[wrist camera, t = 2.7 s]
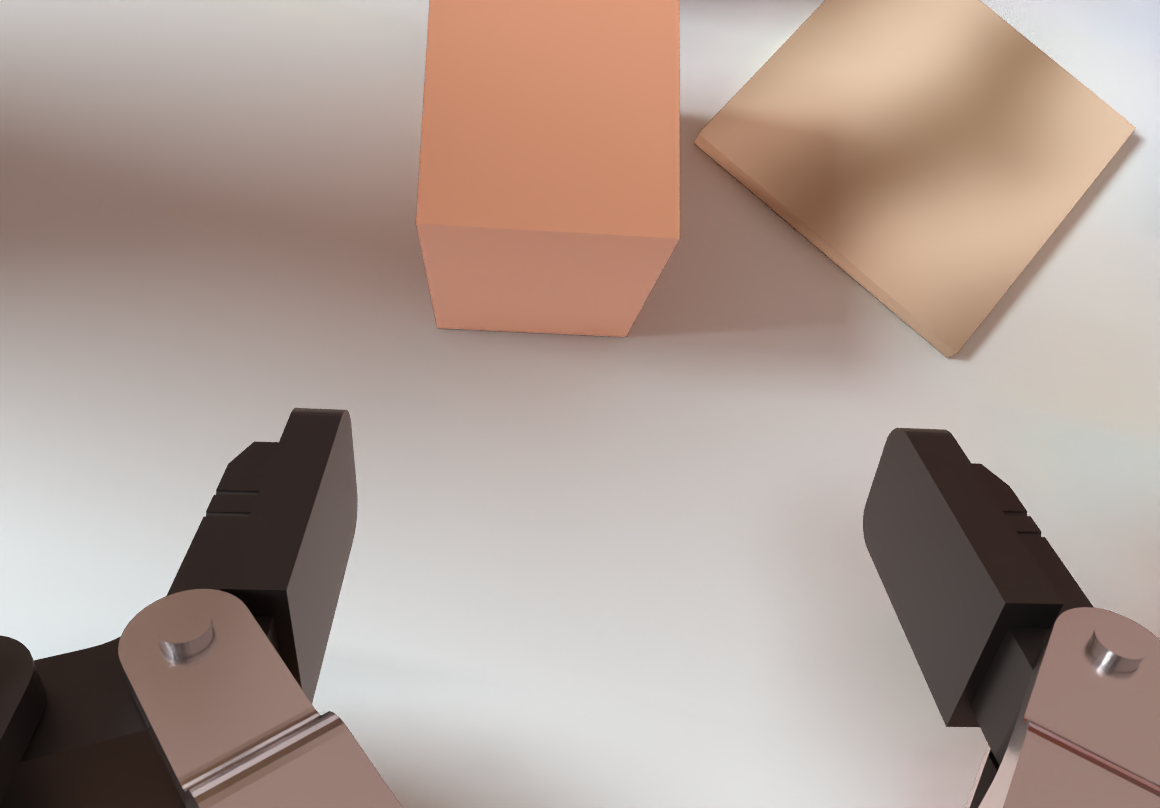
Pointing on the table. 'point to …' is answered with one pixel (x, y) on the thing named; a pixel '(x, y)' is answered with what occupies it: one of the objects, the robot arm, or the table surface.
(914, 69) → the birch coaster
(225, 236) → the table surface
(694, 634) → the table surface
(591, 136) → the peach rectangular brick
